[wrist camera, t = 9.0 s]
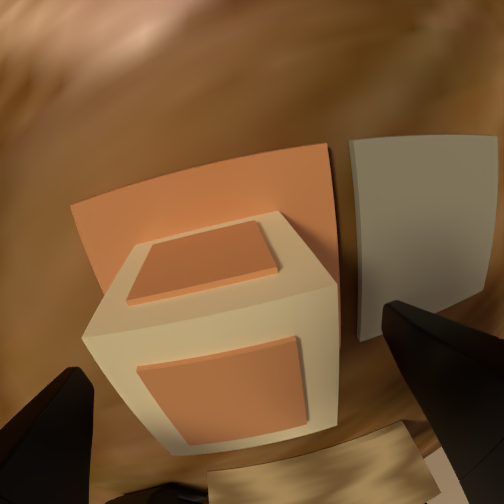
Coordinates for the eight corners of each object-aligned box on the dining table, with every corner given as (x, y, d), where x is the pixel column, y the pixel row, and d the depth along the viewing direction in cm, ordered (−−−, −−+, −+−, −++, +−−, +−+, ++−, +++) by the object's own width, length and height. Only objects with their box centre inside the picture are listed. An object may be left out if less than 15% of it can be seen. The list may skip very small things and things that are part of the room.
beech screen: (401, 419, 18) (441, 492, 10) (392, 440, 19) (424, 504, 12) (207, 471, 17) (214, 557, 10) (220, 485, 19) (229, 559, 11)
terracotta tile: (322, 142, 9) (326, 143, 9) (337, 343, 13) (340, 348, 12) (74, 203, 9) (69, 205, 8) (155, 381, 12) (154, 387, 12)
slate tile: (491, 135, 10) (497, 136, 9) (479, 287, 13) (483, 290, 13) (348, 139, 9) (353, 140, 9) (356, 337, 13) (360, 342, 12)
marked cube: (277, 206, 9) (339, 280, 5) (296, 327, 12) (338, 429, 7) (134, 241, 9) (75, 336, 5) (179, 352, 11) (172, 459, 7)
